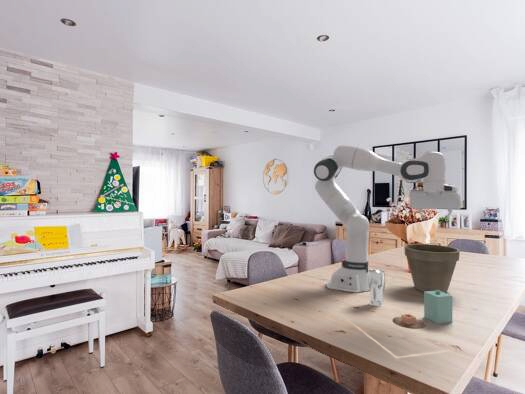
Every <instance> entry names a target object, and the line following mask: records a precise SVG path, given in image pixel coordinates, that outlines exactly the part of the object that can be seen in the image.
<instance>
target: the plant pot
mask: <svg viewBox="0 0 525 394" xmlns="http://www.w3.org/2000/svg"><path fill="white" fill-rule="evenodd" d="M460 252H461V251H460V249H458V248H455V247H452V246H447V245H442V244H441V245H440V244H431V243H430V244H429V243H428V244H427V243H408V244H405V245H404V256H405V257H406V259H407V263H408V267H409V271H410V274H411V279H412V282H413V285H414V288H415V289H418V290H417V291H420V292H423V293H424V292H426V291H436V290H440V291H441V292H444V293H447V292H448V290H449V287H450V284H451V281H452V278H453V275H454V272H455V268H456V264H457V262H458V261H460V254H461V253H460Z"/></svg>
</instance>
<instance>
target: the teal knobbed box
mask: <svg viewBox="0 0 525 394" xmlns="http://www.w3.org/2000/svg"><path fill="white" fill-rule="evenodd" d="M423 294H424V295H423V302H424V303H423V306H424V307H423V308H424V309H423V316H424V318H425V319H427V320H429V321H431V322H433V323H435V324H447V323H448V324H449V323H453V295H452V294H450V293H447V292H446V293H444V292H441V291H440V290H436V291H426V292H423Z"/></svg>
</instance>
